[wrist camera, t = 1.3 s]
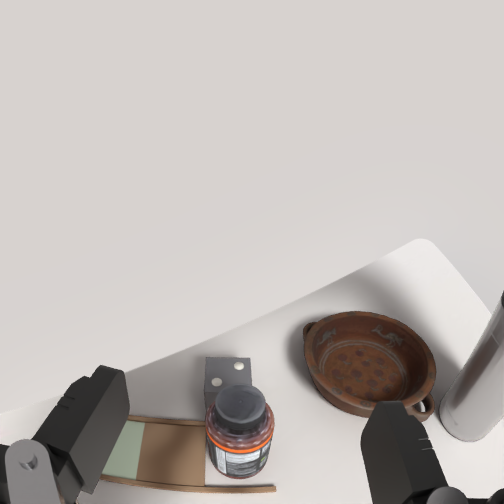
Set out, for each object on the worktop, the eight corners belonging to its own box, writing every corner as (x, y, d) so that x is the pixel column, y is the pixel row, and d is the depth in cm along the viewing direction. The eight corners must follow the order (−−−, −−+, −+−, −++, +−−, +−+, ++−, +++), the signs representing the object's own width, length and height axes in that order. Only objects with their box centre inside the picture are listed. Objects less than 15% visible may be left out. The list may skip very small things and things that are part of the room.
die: (249, 383, 38) (251, 356, 35) (251, 416, 33) (253, 391, 31) (208, 382, 38) (206, 356, 35) (206, 416, 33) (203, 390, 31)
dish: (339, 313, 51) (345, 289, 49) (450, 381, 37) (465, 358, 34) (261, 365, 41) (263, 338, 39) (392, 466, 27) (410, 446, 24)
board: (268, 423, 33) (268, 421, 32) (275, 491, 25) (276, 490, 25) (92, 411, 31) (90, 409, 31) (75, 473, 23) (73, 471, 23)
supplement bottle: (215, 431, 31) (210, 368, 26) (269, 437, 31) (280, 376, 26) (205, 476, 26) (195, 425, 21) (264, 484, 26) (276, 436, 20)
